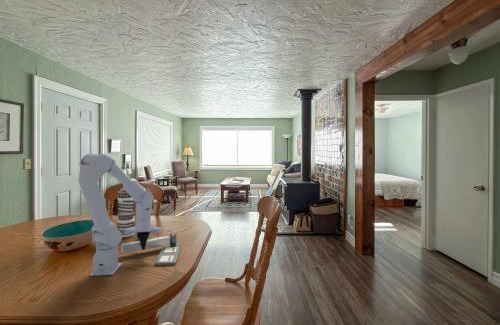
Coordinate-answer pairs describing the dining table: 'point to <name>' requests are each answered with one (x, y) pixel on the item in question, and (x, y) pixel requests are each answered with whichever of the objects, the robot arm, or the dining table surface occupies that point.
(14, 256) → the dining table surface
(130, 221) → the decorative candle
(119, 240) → the robot arm
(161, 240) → the swing arm
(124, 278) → the dining table surface
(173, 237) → the grey joystick
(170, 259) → the label board
